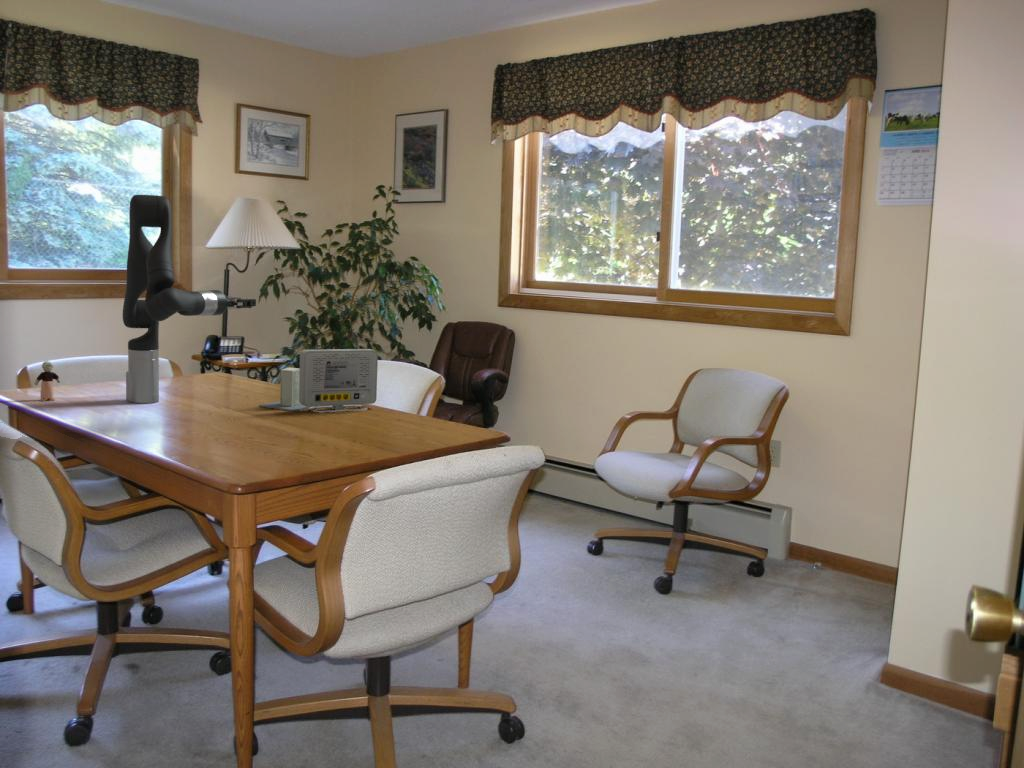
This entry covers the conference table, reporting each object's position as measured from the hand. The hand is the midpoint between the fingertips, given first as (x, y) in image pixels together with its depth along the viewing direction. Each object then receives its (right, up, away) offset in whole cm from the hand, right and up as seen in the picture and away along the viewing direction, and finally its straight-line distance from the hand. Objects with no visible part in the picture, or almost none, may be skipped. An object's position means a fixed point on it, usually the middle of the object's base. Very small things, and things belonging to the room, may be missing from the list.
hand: (244, 301), depth 275 cm
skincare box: (+10, -33, +18) cm, 39 cm away
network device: (+26, -35, +17) cm, 47 cm away
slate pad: (+10, -33, +19) cm, 39 cm away
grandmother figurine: (-65, -31, +7) cm, 72 cm away
